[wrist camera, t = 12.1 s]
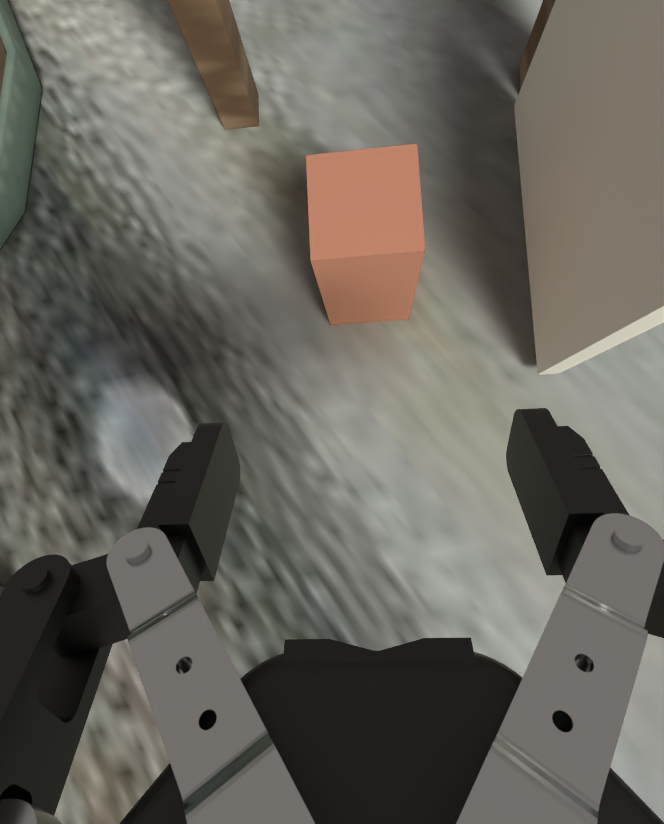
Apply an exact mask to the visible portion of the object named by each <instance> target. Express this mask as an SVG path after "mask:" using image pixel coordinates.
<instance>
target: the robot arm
mask: <svg viewBox="0 0 664 824" xmlns="http://www.w3.org/2000/svg"><path fill="white" fill-rule="evenodd" d="M506 461H507V468H508V472H509V475H510V478H511V481H512V483H513V486H514V489H515V491H516V494H517V497H518V499H519V502H520V505H521V508H522V510H523V513H524V516H525V518H526V521H527V524H528V526H529V529H530V532H531V534H532V537H533V540H534V543H535V545H536V548H537V551H538V553H539V556H540V559H541V561H542V564H543V567H544V570H545V572H546V575H563V577H564V580H565V582H566V584H565V586H564V588H563V590H562V592H561V594H560V596H559V599H558V601H557V603H556V605H555V608H554V610H553V612H552V614H551V616H550V619H549V621H548V623H547V625H546V627H545V630H544V632H543V634H542V636H541V638H540V641H539V643H538V645H537V647H536V650H535V652H534V654H533V656H532V658H531V661H530V663H529V665H528V667H527V669H526V672H525V674H524V676H523V678H522V677H521V676H520V675H518V674H517V673H516V672H515V671H513V670H512V669H510V668H509V667H507V666H506V665H504V664H502V663H500V662H498V661H496V660H495V659H493V658H490V657H487V656H485V655H482V654H479V653H476V652H474V651H473V646H472V641H471V638H423V639H420V640H416V641H413V642H409V643H406V644H402V645H399V646H395V647H392V648H388V649H385V650H381V651H373V650H369V649H365V648H361V647H357V646H353V645H350V644H346V643H342V642H338V641H335V640H331V639H298V640H285V646H284V654H280V655H277V656H275V657H272V658H270V659H268V660H266V661H264V662H262V663H261V664H259V665H257V666H256V667H254V668H253V669H252V670H250V671H249V672H248V673H246V674H245V675H244V676H243V677H242V678H241V679H240V678H239V676H238V674H237V672H236V670H235V668H234V666H233V664H232V662H231V660H230V658H229V657H228V655H227V653H226V651H225V649H224V647H223V645H222V643H221V641H220V639H219V637H218V635H217V633H216V631H215V629H214V628H213V626H212V624H211V622H210V620H209V618H208V616H207V614H206V612H205V610H204V608H203V606H202V604H201V602H200V601H199V599H198V597H197V595H196V593H197V590H198V586H199V582H200V581H214V579H215V575H216V571H217V567H218V563H219V559H220V555H221V551H222V547H223V544H224V540H225V536H226V532H227V528H228V524H229V520H230V516H231V512H232V508H233V504H234V500H235V497H236V493H237V489H238V485H239V480H240V464H239V459H238V456H237V452H236V449H235V446H234V442H233V439H232V436H231V432H230V429H229V426H228V424H227V423H209V424H199V425H198V427H197V429H196V432H195V434H194V437H193V439H192V442H182V443H181V444H180V445H179V446H178V447H177V448H176V449H175V450H174V451H173V452H172V453H171V454H170V456H169V458H168V460H167V462H166V465H165V467H164V469H163V473H162V474H161V476H160V478H159V480H158V485H156V487H155V489H154V492H153V494H152V496H151V499H150V501H149V503H148V505H147V508H146V510H145V512H144V514H143V517H142V519H141V521H140V523H139V526H138V528H137V530H134V531H132V532H129V533H128V534H126V535H124V536H123V537H122V538H120V539H119V540H118V541H117V542H116V543H115V544H114V545H113V547H112V548H111V550H110V552H109V554H106V555H104V556H101V557H97V558H94V559H91V560H88V561H84V562H81V563H78V564H75V565H71V564H70V563H69V562H68V560H67V559H66V558H64V557H63V556H60V555H46V556H43V557H39V558H37V559H35V560H33V561H31V562H29V563H27V564H26V565H24V566H23V567H22V568H21V569H19V570H18V571H17V572H16V573H15V574H14V575H13V576H12V578H11V579H10V580H9V582H8V583H7V585H6V587H5V586H1V585H0V824H61V822H60V821H59V820H58V819H57V818H56V817H55V816H54V814H55V811H56V808H57V805H58V802H59V799H60V797H61V794H62V791H63V788H64V785H65V782H66V779H67V776H68V773H69V770H70V767H71V764H72V761H73V758H74V755H75V753H76V750H77V747H78V744H79V741H80V738H81V735H82V732H83V729H84V726H85V723H86V720H87V717H88V714H89V711H90V708H91V706H92V703H93V700H94V697H95V694H96V691H97V688H98V685H99V682H100V679H101V676H102V673H103V670H104V667H105V664H106V662H107V659H108V656H109V653H110V650H111V647H112V644H113V643H116V642H119V641H122V640H125V639H128V643H129V646H130V649H131V652H132V655H133V658H134V661H135V664H136V666H137V669H138V672H139V675H140V678H141V681H142V684H143V686H144V689H145V692H146V695H147V698H148V701H149V704H150V707H151V709H152V712H153V715H154V718H155V721H156V724H157V727H158V730H159V732H160V735H161V738H162V741H163V744H164V747H165V750H166V752H167V755H168V758H169V761H170V763H169V765H168V766H167V767H166V768H165V769H164V771H163V772H162V773H161V774H160V775H159V777H158V778H157V779H156V780H155V781H154V783H153V784H152V785H151V786H150V788H149V789H148V790H147V791H146V792H145V794H144V795H143V796H142V797H141V798H140V800H139V801H138V802H137V803H136V804H135V806H134V807H133V808H132V809H131V810H130V812H129V813H128V814H127V815H126V816H125V818H124V819H123V820H122V821H121V822H120V824H664V822H663V821H662V820H661V819H660V818H659V817H658V816H657V815H656V814H655V813H654V812H653V811H652V810H651V809H650V808H649V807H648V806H647V805H646V804H645V803H644V802H643V801H642V800H641V799H640V798H639V797H638V795H637V794H636V793H635V792H634V791H633V790H632V789H631V788H630V787H629V786H628V785H627V784H626V783H625V782H624V781H623V780H622V779H621V778H620V777H619V776H618V775H617V774H616V773H615V772H614V771H613V770H612V769H611V768H610V766H611V762H612V759H613V755H614V752H615V748H616V745H617V741H618V738H619V734H620V731H621V727H622V724H623V720H624V717H625V714H626V710H627V707H628V703H629V700H630V696H631V693H632V689H633V686H634V682H635V679H636V675H637V672H638V668H639V665H640V661H641V658H642V654H643V651H644V647H645V644H646V640H647V635H648V634H651V635H655V636H658V637H662V638H664V540H663V539H662V538H661V536H660V535H659V534H658V533H657V532H656V531H655V530H654V529H653V528H652V527H651V526H649V525H648V524H647V523H645V522H643V521H642V520H639V519H637V518H635V517H632V516H630V515H629V514H628V512H627V511H626V509H625V507H624V505H623V504H622V502H621V500H620V499H619V497H618V495H617V494H616V492H615V490H614V489H613V487H612V485H611V484H610V482H609V480H608V479H607V477H606V475H605V474H604V472H603V470H602V469H600V465H599V463H598V462H597V460H596V458H595V457H593V453H592V452H591V450H590V448H589V447H588V445H587V443H586V442H585V440H584V438H582V437H581V436H580V435H579V434H577V433H576V432H575V431H574V430H572V429H571V428H570V427H569V426H558V427H557V425H556V423H555V421H554V419H553V418H552V416H551V414H550V412H549V411H548V409H546V408H538V409H518V410H516V411H515V413H514V417H513V422H512V427H511V432H510V436H509V441H508V446H507V452H506Z"/></svg>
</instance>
